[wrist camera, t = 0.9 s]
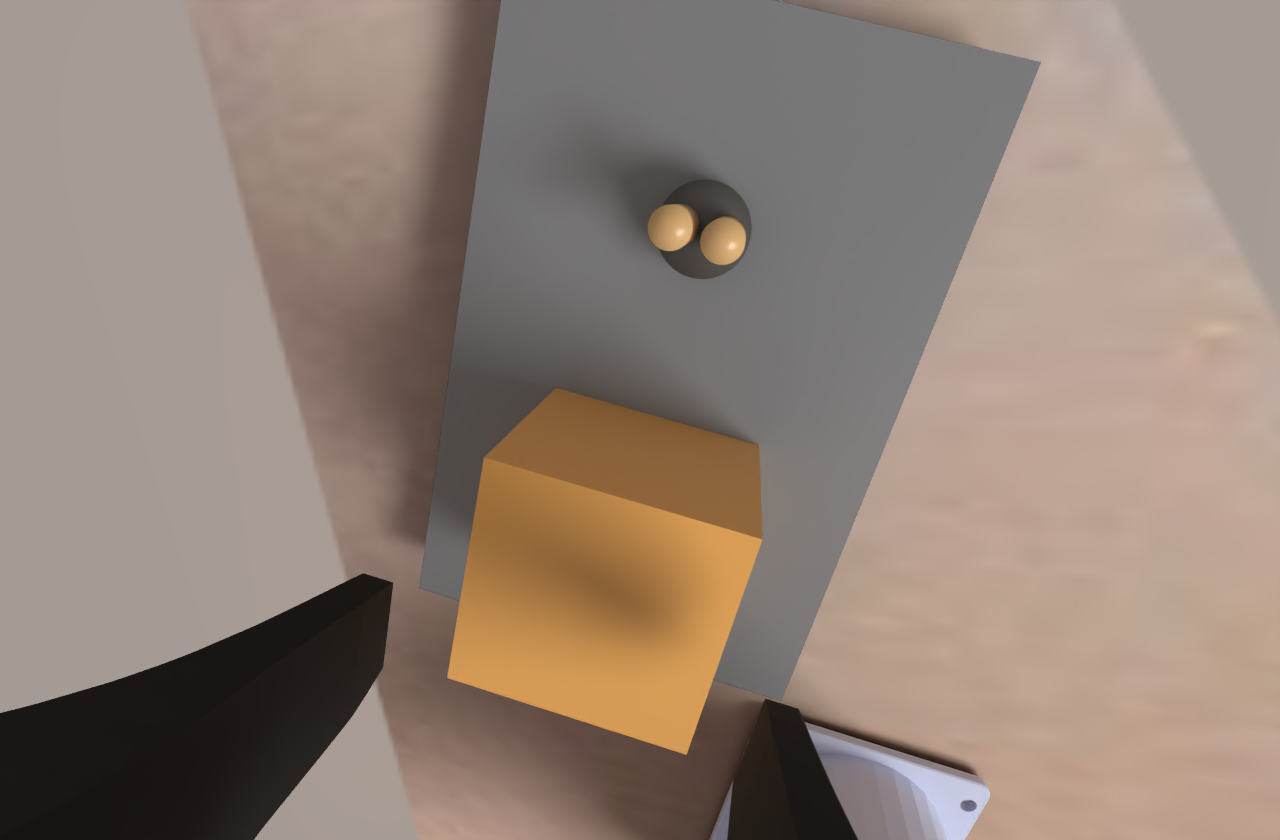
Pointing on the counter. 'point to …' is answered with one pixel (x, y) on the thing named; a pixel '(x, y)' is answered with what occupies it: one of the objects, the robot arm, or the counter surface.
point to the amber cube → (608, 566)
